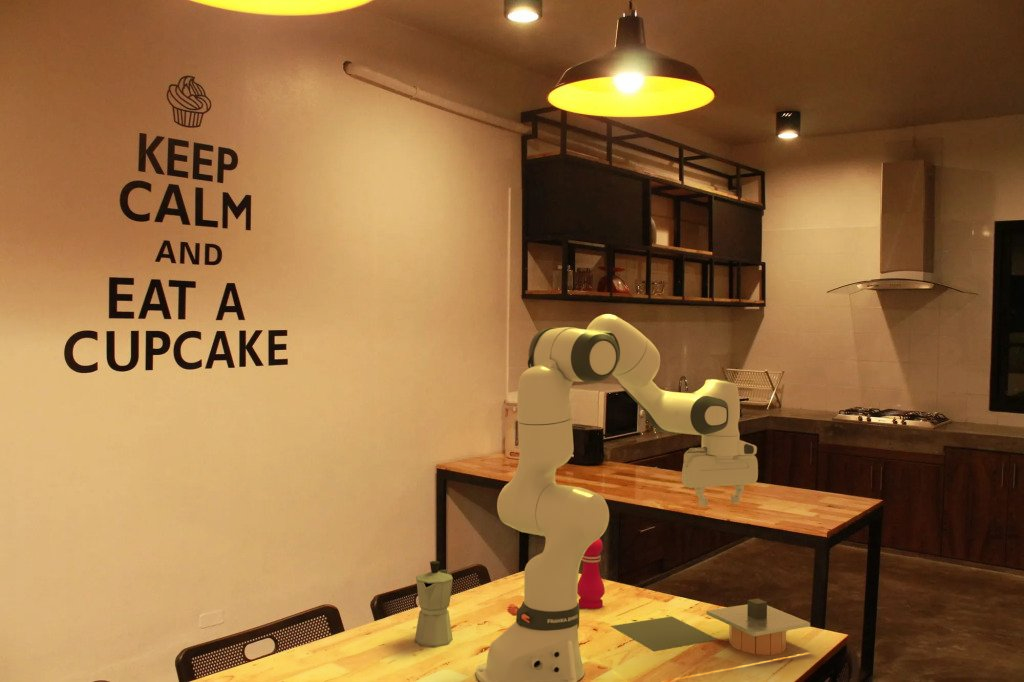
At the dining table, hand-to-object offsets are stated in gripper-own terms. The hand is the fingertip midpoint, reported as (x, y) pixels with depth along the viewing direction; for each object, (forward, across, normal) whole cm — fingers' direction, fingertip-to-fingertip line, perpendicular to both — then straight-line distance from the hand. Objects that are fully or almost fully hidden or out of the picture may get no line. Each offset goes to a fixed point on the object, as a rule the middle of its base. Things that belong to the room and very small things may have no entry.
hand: (719, 504), depth 200 cm
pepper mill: (+30, -19, +28) cm, 45 cm away
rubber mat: (+30, -14, +3) cm, 33 cm away
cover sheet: (+24, +2, -12) cm, 27 cm away
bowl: (+30, +2, -12) cm, 33 cm away
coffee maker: (+31, -64, +21) cm, 74 cm away
